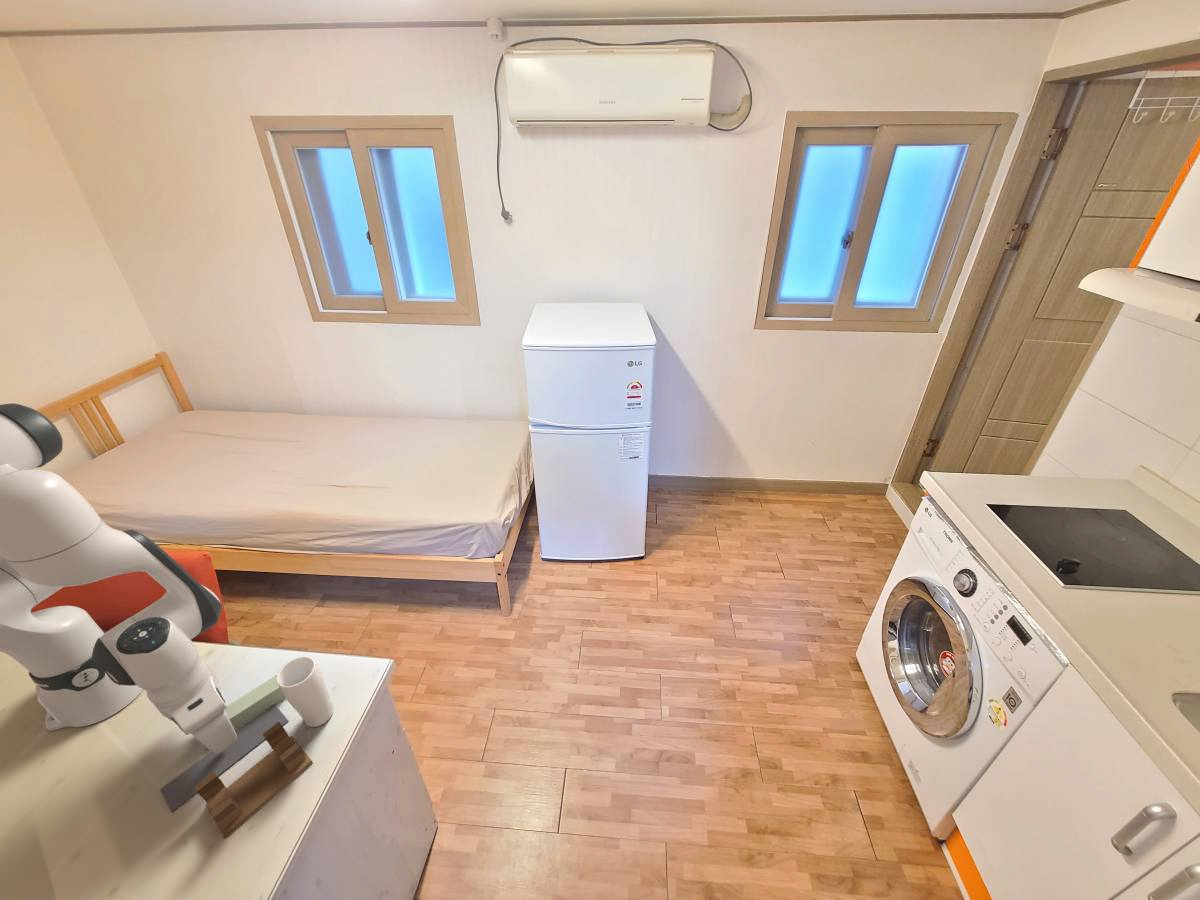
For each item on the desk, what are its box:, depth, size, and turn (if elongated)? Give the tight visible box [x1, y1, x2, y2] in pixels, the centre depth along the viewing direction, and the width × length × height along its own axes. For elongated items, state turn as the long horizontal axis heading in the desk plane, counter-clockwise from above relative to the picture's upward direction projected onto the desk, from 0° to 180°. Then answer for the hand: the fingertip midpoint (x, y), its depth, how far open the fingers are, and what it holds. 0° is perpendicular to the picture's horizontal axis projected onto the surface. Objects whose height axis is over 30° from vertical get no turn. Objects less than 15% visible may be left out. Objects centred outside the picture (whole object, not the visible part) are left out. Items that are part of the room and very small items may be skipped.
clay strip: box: [194, 674, 286, 752], centre depth 100 cm, size 16×4×4 cm, turn 138°
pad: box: [159, 704, 289, 813], centre depth 94 cm, size 6×20×1 cm, turn 144°
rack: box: [194, 722, 313, 839], centre depth 88 cm, size 8×15×6 cm, turn 144°
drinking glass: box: [276, 656, 334, 728], centre depth 96 cm, size 7×7×15 cm
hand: (218, 730), depth 96 cm, fingers open, 7 cm apart
